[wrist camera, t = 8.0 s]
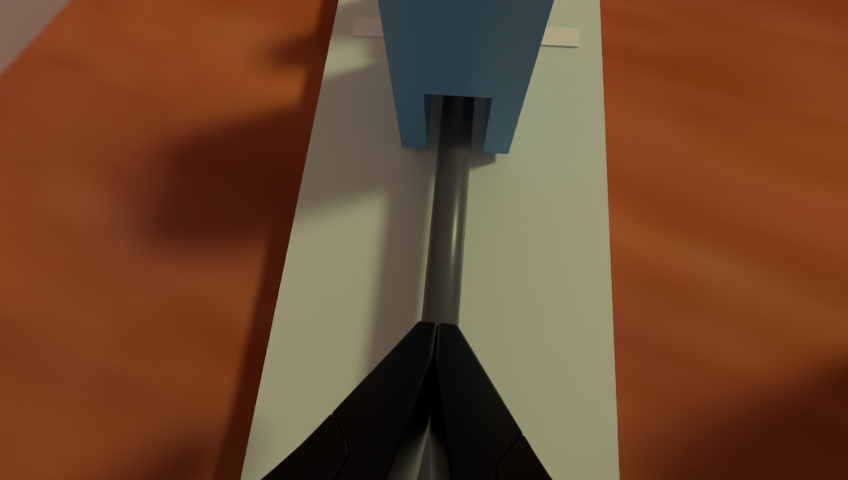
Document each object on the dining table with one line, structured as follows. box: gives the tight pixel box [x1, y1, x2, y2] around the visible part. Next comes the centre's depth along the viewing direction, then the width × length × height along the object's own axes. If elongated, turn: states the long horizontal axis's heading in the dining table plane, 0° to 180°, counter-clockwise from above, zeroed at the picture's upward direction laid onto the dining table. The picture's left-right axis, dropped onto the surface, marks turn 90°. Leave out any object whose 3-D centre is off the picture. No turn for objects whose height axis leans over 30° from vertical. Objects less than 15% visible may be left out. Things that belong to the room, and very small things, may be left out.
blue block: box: [378, 0, 554, 154], centre depth 14 cm, size 5×4×8 cm
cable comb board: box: [240, 0, 619, 480], centre depth 14 cm, size 30×12×6 cm, turn 175°
